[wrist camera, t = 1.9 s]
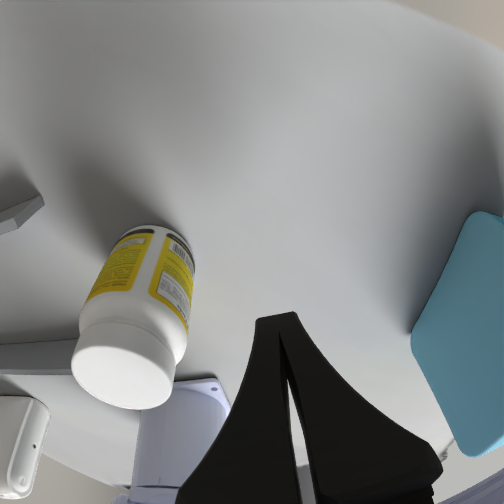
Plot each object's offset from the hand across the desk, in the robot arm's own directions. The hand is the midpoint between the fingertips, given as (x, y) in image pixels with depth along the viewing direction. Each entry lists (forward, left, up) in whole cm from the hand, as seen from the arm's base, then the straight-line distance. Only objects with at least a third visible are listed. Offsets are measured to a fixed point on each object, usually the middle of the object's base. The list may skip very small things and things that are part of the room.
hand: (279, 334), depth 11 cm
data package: (-7, -14, -7) cm, 17 cm away
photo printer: (-15, +30, -7) cm, 34 cm away
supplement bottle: (0, +6, -7) cm, 10 cm away
